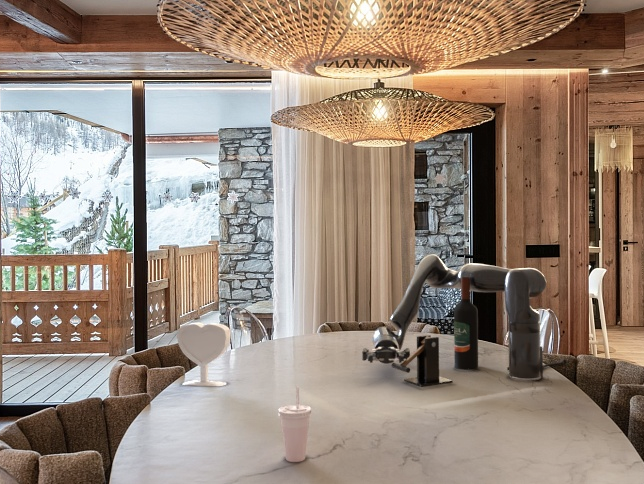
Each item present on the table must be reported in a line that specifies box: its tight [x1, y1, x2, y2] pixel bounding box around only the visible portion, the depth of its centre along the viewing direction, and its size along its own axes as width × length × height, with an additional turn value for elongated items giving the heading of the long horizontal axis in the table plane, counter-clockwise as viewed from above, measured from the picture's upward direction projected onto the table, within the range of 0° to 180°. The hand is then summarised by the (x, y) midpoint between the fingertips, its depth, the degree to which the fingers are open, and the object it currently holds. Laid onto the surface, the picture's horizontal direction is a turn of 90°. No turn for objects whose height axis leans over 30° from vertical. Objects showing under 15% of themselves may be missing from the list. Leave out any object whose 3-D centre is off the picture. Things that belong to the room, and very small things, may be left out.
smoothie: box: [278, 386, 312, 463], centre depth 118 cm, size 6×6×14 cm
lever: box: [390, 336, 432, 374], centre depth 175 cm, size 13×8×2 cm
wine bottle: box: [453, 277, 479, 371], centre depth 196 cm, size 8×8×30 cm
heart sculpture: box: [176, 322, 232, 387], centre depth 180 cm, size 16×5×18 cm, turn 79°
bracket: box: [403, 334, 453, 388], centre depth 177 cm, size 11×9×14 cm
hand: (385, 359), depth 173 cm, fingers open, 8 cm apart
